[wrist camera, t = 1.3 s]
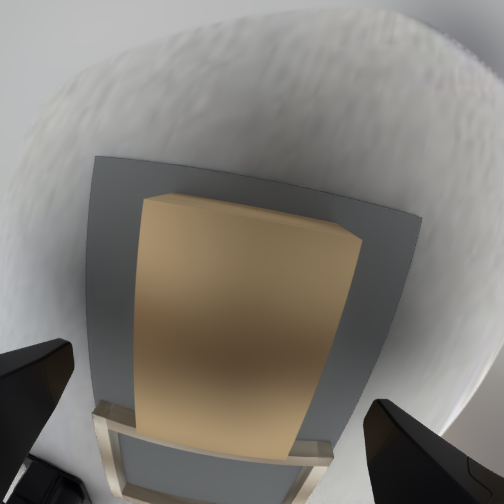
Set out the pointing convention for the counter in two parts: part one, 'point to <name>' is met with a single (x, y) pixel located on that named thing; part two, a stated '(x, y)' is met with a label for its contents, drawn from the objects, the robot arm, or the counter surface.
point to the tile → (234, 321)
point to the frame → (124, 421)
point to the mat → (123, 301)
